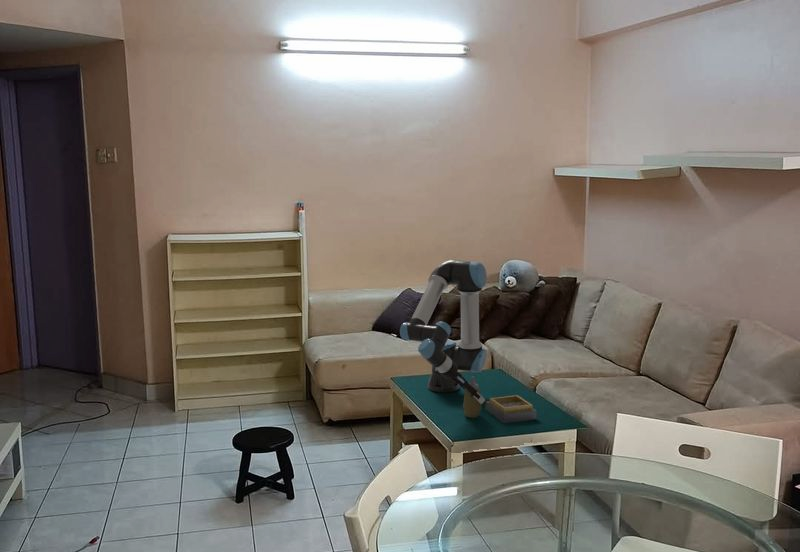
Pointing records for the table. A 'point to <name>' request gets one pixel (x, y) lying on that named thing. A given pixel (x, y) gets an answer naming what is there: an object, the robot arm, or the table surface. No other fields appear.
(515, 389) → the table surface
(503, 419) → the square gold-rimmed tray
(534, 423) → the table surface
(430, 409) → the table surface
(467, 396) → the squeeze bottle
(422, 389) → the table surface
